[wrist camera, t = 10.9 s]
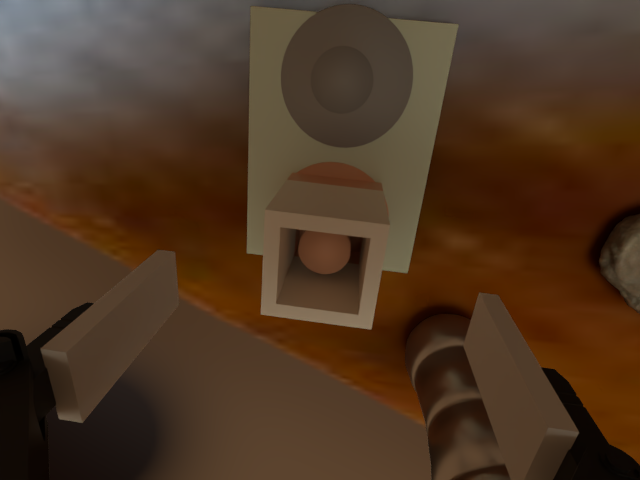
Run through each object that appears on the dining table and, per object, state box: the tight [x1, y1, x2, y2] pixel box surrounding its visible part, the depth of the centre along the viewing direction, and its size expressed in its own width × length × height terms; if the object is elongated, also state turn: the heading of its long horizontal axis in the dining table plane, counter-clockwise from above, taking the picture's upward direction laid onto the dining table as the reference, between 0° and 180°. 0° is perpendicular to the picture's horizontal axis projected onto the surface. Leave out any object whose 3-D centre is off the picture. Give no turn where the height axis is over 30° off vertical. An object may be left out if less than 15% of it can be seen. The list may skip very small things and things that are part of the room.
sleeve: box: [261, 173, 390, 329], centre depth 23 cm, size 6×6×8 cm
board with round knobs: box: [247, 4, 459, 274], centre depth 23 cm, size 17×12×7 cm
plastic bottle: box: [405, 314, 511, 480], centre depth 22 cm, size 6×7×20 cm
